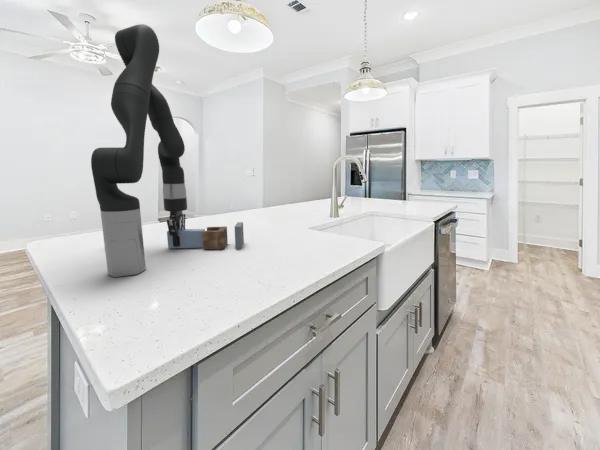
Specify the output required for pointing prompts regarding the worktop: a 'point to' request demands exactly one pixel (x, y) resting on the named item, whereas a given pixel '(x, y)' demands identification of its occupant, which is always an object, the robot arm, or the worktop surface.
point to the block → (215, 238)
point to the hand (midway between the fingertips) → (178, 244)
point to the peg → (187, 238)
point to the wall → (239, 235)
